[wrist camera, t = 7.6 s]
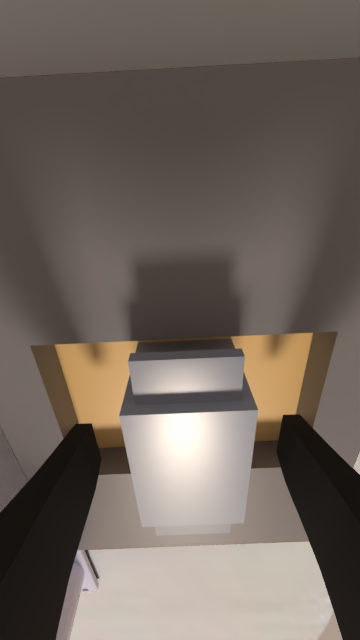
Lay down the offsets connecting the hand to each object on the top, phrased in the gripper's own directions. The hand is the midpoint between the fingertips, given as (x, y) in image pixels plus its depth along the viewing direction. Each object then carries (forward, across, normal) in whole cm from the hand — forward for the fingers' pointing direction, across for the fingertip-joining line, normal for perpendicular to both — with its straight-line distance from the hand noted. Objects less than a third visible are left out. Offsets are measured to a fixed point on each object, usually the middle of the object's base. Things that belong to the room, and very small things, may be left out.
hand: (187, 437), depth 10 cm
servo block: (+3, 0, 0) cm, 3 cm away
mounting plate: (+3, 0, 0) cm, 3 cm away
